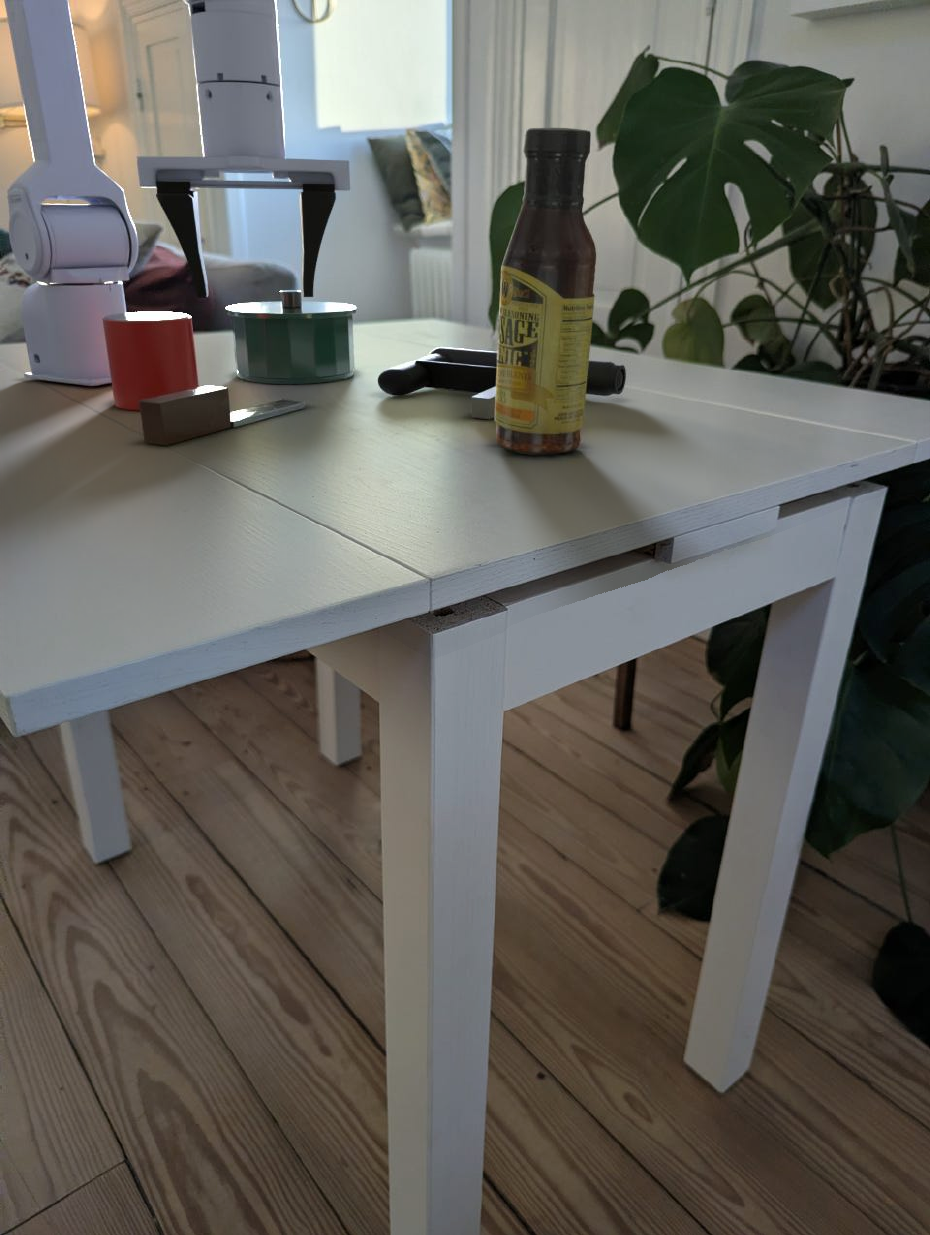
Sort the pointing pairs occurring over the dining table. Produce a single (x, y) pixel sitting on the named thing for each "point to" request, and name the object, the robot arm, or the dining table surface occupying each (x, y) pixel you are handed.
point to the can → (149, 355)
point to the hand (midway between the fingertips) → (256, 296)
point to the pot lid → (291, 308)
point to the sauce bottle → (546, 301)
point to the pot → (293, 349)
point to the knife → (200, 414)
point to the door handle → (480, 376)
